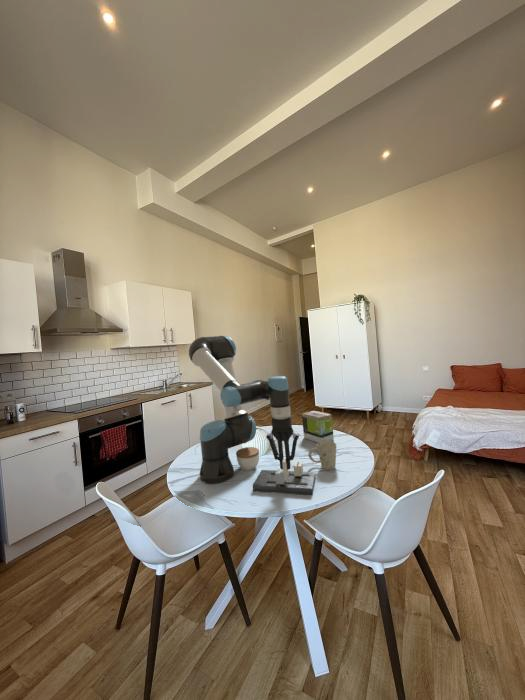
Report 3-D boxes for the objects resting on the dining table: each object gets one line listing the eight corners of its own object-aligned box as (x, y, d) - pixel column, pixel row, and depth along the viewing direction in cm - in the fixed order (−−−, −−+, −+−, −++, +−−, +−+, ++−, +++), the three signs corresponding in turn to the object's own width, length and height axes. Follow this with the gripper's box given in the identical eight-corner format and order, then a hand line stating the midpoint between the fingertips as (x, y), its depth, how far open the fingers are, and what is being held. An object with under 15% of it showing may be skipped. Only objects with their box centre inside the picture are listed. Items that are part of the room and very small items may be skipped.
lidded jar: (240, 475, 124) (238, 454, 124) (235, 465, 134) (233, 446, 134) (263, 469, 127) (261, 449, 127) (256, 461, 137) (255, 442, 137)
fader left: (294, 475, 112) (293, 465, 112) (295, 471, 116) (295, 461, 116) (301, 476, 112) (300, 466, 112) (303, 471, 115) (302, 461, 115)
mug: (338, 471, 120) (336, 447, 120) (309, 470, 122) (307, 448, 122) (337, 462, 128) (335, 440, 128) (309, 462, 130) (307, 441, 130)
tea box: (334, 440, 156) (332, 413, 156) (321, 444, 151) (319, 417, 151) (315, 433, 169) (314, 409, 169) (303, 438, 164) (301, 413, 163)
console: (253, 491, 109) (252, 484, 109) (262, 475, 122) (261, 469, 121) (312, 495, 103) (311, 488, 103) (315, 478, 115) (315, 471, 115)
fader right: (276, 483, 107) (275, 473, 107) (278, 478, 111) (277, 468, 111) (283, 484, 107) (282, 473, 106) (285, 479, 110) (284, 468, 110)
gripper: (262, 419, 106) (267, 480, 106) (296, 419, 102) (301, 482, 103) (267, 414, 113) (272, 471, 114) (299, 413, 110) (304, 473, 110)
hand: (286, 476), depth 108 cm, fingers closed
